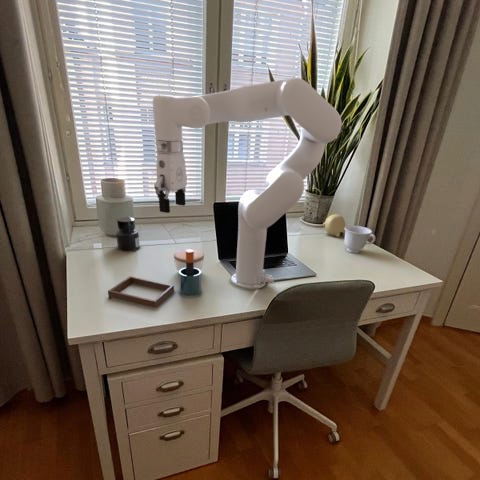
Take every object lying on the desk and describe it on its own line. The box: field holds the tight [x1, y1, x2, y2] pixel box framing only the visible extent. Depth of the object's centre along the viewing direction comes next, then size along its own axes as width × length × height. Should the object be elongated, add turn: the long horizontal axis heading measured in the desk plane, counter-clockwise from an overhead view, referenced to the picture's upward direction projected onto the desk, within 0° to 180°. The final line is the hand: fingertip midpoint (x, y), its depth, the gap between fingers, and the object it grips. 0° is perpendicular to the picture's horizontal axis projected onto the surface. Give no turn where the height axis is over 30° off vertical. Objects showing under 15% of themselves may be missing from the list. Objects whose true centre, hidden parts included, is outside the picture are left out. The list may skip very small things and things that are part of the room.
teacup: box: [344, 224, 376, 254], centre depth 157 cm, size 12×15×10 cm
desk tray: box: [107, 275, 175, 309], centre depth 111 cm, size 17×12×3 cm
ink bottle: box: [115, 216, 141, 252], centre depth 143 cm, size 10×9×12 cm
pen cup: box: [178, 268, 202, 297], centre depth 114 cm, size 7×7×8 cm
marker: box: [186, 248, 194, 276], centre depth 112 cm, size 2×2×14 cm
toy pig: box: [322, 213, 346, 238], centre depth 176 cm, size 10×12×11 cm
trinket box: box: [173, 248, 205, 273], centre depth 126 cm, size 11×11×9 cm
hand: (173, 208), depth 108 cm, fingers open, 9 cm apart
